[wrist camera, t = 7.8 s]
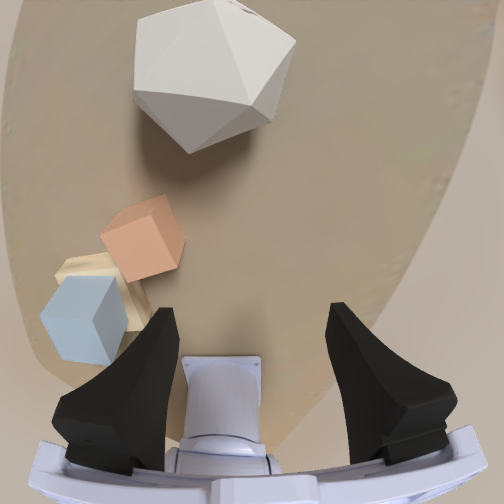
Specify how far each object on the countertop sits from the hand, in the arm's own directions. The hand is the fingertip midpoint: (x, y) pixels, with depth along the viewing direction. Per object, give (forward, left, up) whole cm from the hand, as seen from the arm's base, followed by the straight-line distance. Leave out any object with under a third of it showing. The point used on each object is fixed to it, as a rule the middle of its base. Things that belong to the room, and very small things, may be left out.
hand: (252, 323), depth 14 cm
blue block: (-5, +12, -8) cm, 15 cm away
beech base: (-5, +12, -11) cm, 17 cm away
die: (+11, +2, -11) cm, 15 cm away
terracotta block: (0, +7, -10) cm, 13 cm away
